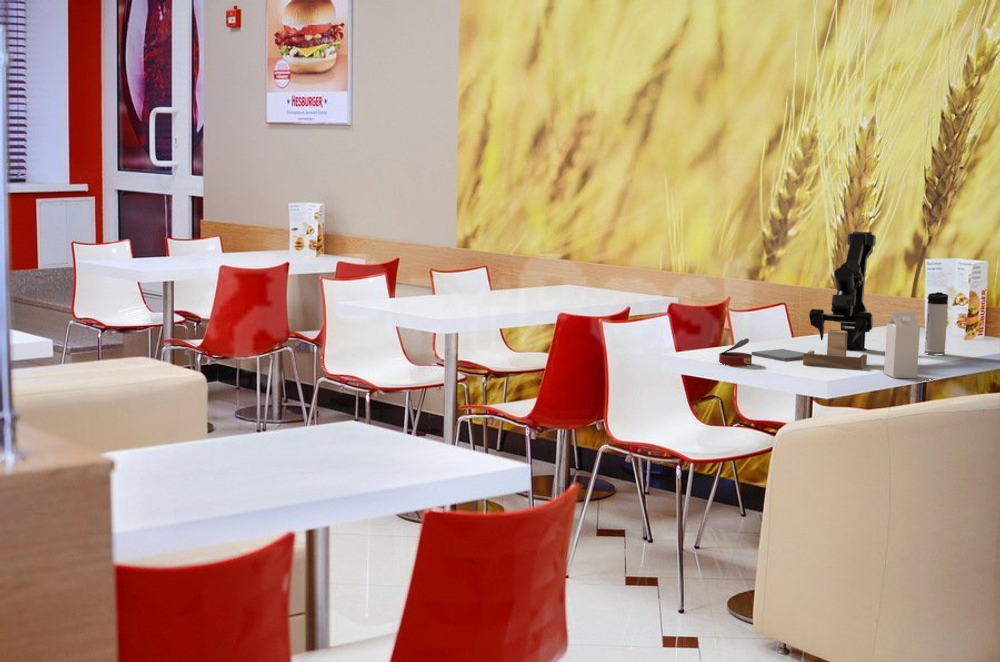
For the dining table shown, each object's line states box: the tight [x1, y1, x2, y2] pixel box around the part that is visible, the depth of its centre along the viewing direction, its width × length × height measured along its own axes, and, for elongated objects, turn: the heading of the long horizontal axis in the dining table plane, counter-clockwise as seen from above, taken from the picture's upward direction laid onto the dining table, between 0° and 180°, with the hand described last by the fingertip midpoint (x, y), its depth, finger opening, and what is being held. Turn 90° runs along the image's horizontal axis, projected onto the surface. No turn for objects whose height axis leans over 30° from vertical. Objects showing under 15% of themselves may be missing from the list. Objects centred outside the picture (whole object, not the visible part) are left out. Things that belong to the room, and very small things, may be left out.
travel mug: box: [924, 291, 949, 355], centre depth 417 cm, size 6×7×20 cm
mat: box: [751, 348, 805, 362], centre depth 407 cm, size 14×14×1 cm
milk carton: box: [883, 310, 921, 379], centre depth 372 cm, size 7×7×19 cm
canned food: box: [718, 337, 753, 367], centre depth 391 cm, size 11×10×10 cm
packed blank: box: [826, 329, 847, 356], centre depth 394 cm, size 5×5×10 cm
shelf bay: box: [802, 349, 868, 370], centre depth 393 cm, size 12×17×4 cm
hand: (836, 340), depth 393 cm, fingers open, 9 cm apart
